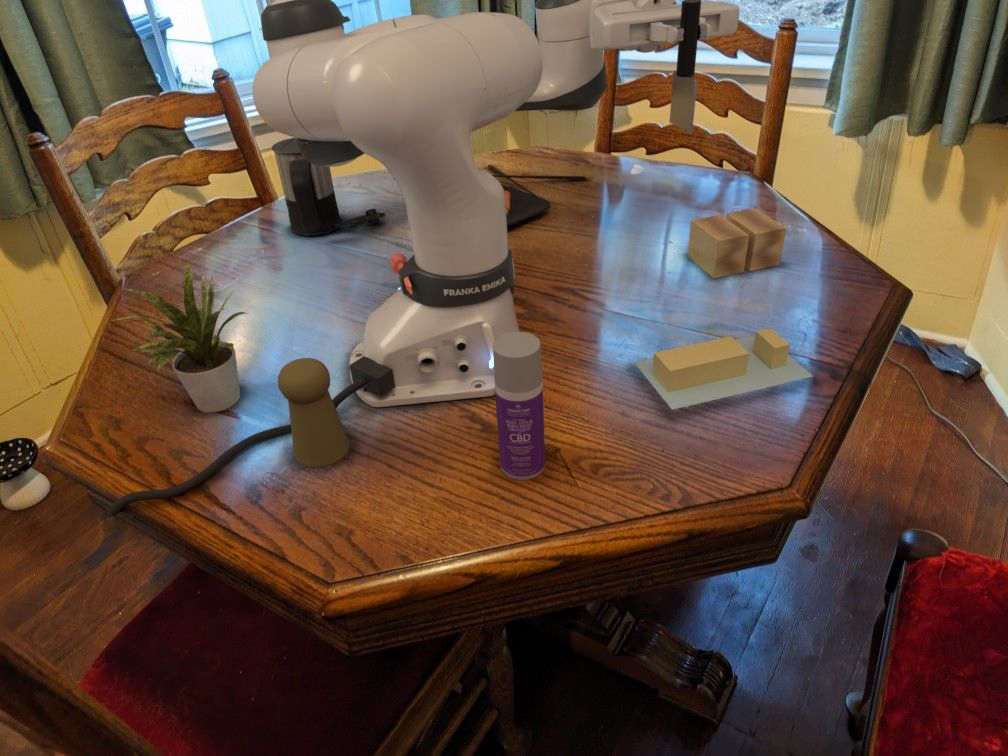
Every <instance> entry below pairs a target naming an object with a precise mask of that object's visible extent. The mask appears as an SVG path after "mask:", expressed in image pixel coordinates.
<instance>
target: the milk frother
mask: <svg viewBox="0 0 1008 756" xmlns="http://www.w3.org/2000/svg"><path fill="white" fill-rule="evenodd" d="M295 139H296V138H295V137H290V138H286V139H282V140H280V141H278V142H276V143H274V144H273V145H271V148H270V149H271V151H272V152H273V153H274V157H275V162H276V165H277V170H278V175H279V178H280V184H281V187H282V193H283V195H284V201H285V204H286V208H287V212H288V220H289V223H290V227H289V230H290V232H291V233H293V234H295V235H298V236H303V237H304V236H305V237H307V236H308V237H311V236H320V235H321V236H322V235H324V234H328V233H331V232H333V231H336V230H337V229H339V228H340V227H344V226H350V225H356V224H361V223H365V222H367V223H368V225H375V224H378V223H379V222H380V220H379V219H382V218H385V217H386V212H385V211H384V212H377V209H376V208H370V209H367V210H365V214H362V215H359V216H355V217H351V218H349V219H347V220H343V218H342V217H341V215H340V211H339V207H338V202H337V198H336V194H335V189H334V183H333V178H332V172H331V167H328V166H316V165H314V164H312V163H310V162H309V161H307V160H306V159H305V158H304V157H303V156H302V154H301V152H300V151H299V149H298V147H297V146H296V144H295V142H294V140H295Z"/></svg>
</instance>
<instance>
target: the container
mask: <svg viewBox="0 0 1008 756" xmlns="http://www.w3.org/2000/svg"><path fill="white" fill-rule="evenodd" d="M541 343H542V342H541V340H540V339H539V337H537V336H536V335H535V334H532V333H530V332H526V331H520V332H510V333H506V334H503V335H501V336H499V337H498V338H497V339H496V340H495V341H494V343H493V360H494V383H495V395H494V397H495V410H496V421H497V422H496V424H497V436H498V447H499V449H498V450H499V461H500V469H501V471H502V473H503V474H504V475H505V476H506V477H509V478H510V479H513V480H515V481H528V480H531V479H535V478H537V477H538V476H540V475H541V474H542V473H543V472H544V470H545V468H546V440H545V439H546V438H545V433H546V432H545V403H544V402H545V401H544V400H545V399H544V379H543V378H544V377H543V363H542V362H543V361H542V347H541Z"/></svg>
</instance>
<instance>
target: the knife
mask: <svg viewBox="0 0 1008 756" xmlns="http://www.w3.org/2000/svg"><path fill="white" fill-rule="evenodd" d="M701 1H702V0H682V1H681V3H682V7H681V19H680V27H683V28H684V34H683V37H684V39H683V42H679V43H678V44H677V59H676V70H673V72H672V84H671V98H670V111H669V112H670V113H669V123H670V124H672V125H674V126H675V127H676V128H679V129H681V130H682V131H683V132H686V133H687V134H689V135H693V130H694V120H695V108H696V101H697V100H696V98H697V90H698V89H697V88H698V79H696V78H694V76H695V74H696V73H695V72H696V63H697V61H696V60H697V52H698V51H697V50H698V42H699V40H698V31H699V20H700V9H701Z"/></svg>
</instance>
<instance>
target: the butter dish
mask: <svg viewBox="0 0 1008 756" xmlns="http://www.w3.org/2000/svg"><path fill="white" fill-rule="evenodd" d="M754 339H755V335H752V336H749V337H748V336H747V337H742V338H738V339H735V340H736V341H737V342H738V343H739V344H740V345H741V346H742V347H743V348H744V349H745V350H746V351H747V352H748V353H749V357H748V363H747V369H746V374H745V375H741V376H736V377H732V378H728V379H723V380H719V381H715V382H710V383H706V384H702V385H697V386H693V387H688V388H684V389H680V390H675V391H671V392H667V391H666V389H665V388H664V387H663V386H662V384H661V383H660V382H659V381H658V380H657V378H656V377H655V376H654V375H653V361H654V357H652V358H647V359H643V360H638V361H634V363H633V364H634V365H635V366H636V367H637V368H638V370H639V371H640V372H641V374H642V375H644V378H646V379H647V381H648V382H649V384H651V386H652V387H653V388H654V389H655V390H656V392H657V393H658V394H659V396H660V397H661V398H662V399H663V400H664V402H665V403H666V404H667V405H668V407H669V408H670V409H671V410H676V409H681V408H685V407H690V406H693V405H698V404H703V403H706V402H710V401H716V400H719V399H724V398H729V397H733V396H736V395H741V394H745V393H750V392H753V391H758V390H762V389H766V388H770V387H775V386H780V385H783V384H788V383H792V382H797V381H801V380H805V379H809V378H813V377H814V375H813V373H810V372H809V371H808V370H807V369H806V368H805V367H804V366H803V365H801V364H800V363H799V362H798V361H797V360H796V359H795V358H794V357H792V356H791V355H790V354H789V353H788V357H787V361H786V366H782V367H778V368H773V369H770V368H769V367H768V366H767V365H766V364H765V363H764V362H763V361H762V360H761V359H760V358H759V357H758V356H756V355H755V354H754V353H753V352H752V351H753V345H754Z"/></svg>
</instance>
